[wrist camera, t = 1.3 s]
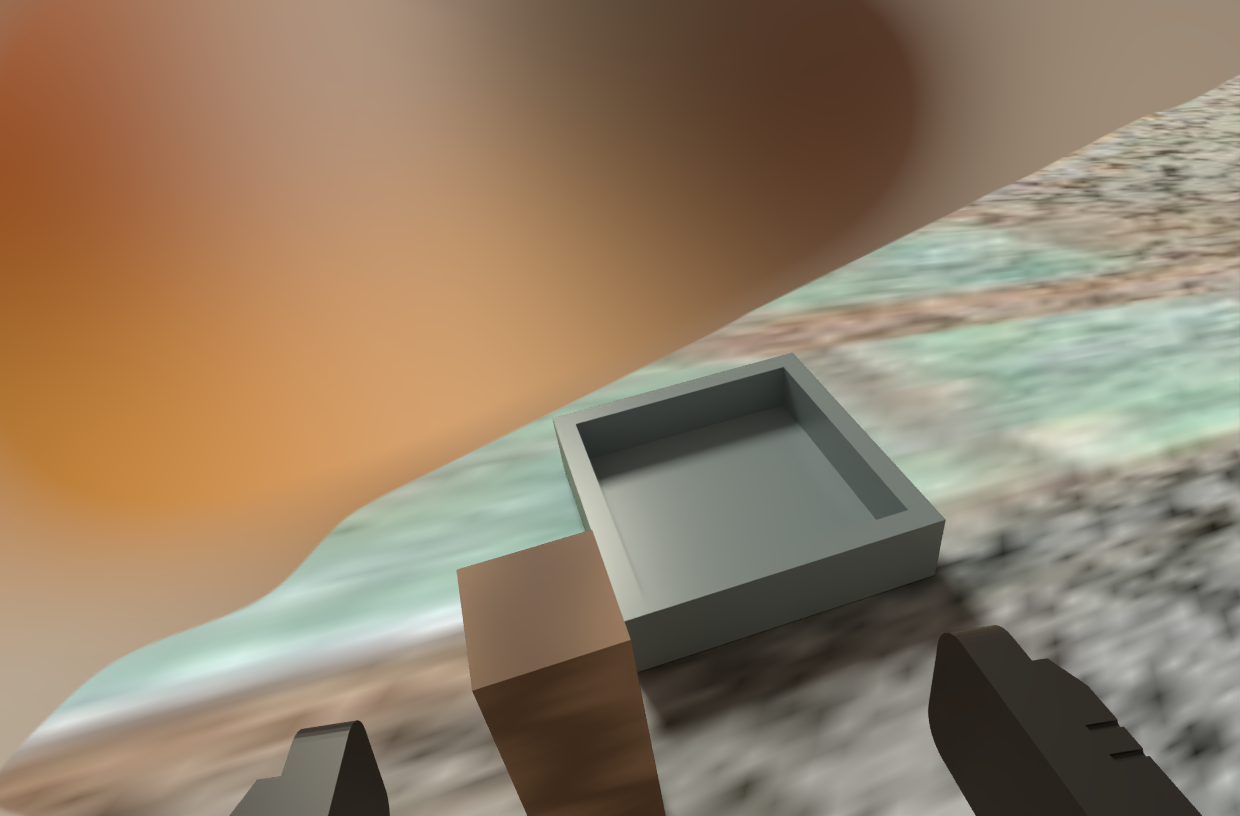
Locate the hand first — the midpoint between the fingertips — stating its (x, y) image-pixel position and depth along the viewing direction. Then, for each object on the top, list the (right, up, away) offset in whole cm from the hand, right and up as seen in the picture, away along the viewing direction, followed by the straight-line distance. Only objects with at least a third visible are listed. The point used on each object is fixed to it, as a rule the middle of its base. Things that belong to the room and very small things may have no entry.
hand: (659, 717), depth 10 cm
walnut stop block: (-1, -12, +20) cm, 23 cm away
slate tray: (+6, -2, +32) cm, 33 cm away
